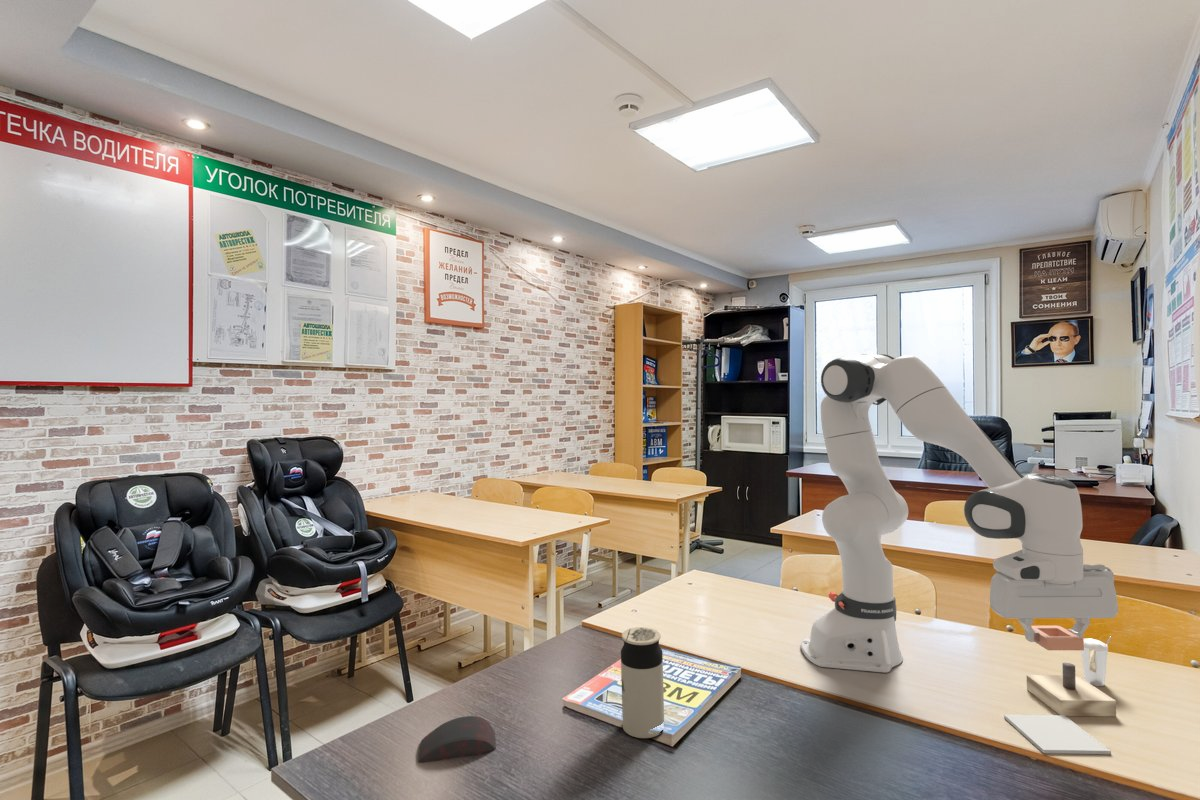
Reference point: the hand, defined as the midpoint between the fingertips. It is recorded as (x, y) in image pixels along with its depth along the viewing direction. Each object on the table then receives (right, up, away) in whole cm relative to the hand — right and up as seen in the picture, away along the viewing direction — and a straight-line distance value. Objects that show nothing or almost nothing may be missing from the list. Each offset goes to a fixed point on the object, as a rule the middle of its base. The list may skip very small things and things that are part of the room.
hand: (1053, 640), depth 106 cm
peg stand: (+12, -17, +11) cm, 23 cm away
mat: (0, -17, 0) cm, 17 cm away
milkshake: (+23, -17, +18) cm, 34 cm away
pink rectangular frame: (0, 0, 0) cm, 0 cm away
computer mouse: (-109, -21, +2) cm, 111 cm away
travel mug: (-74, -19, +6) cm, 77 cm away
